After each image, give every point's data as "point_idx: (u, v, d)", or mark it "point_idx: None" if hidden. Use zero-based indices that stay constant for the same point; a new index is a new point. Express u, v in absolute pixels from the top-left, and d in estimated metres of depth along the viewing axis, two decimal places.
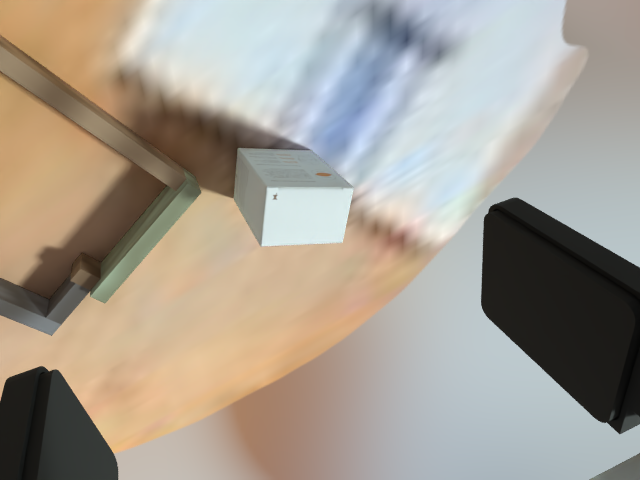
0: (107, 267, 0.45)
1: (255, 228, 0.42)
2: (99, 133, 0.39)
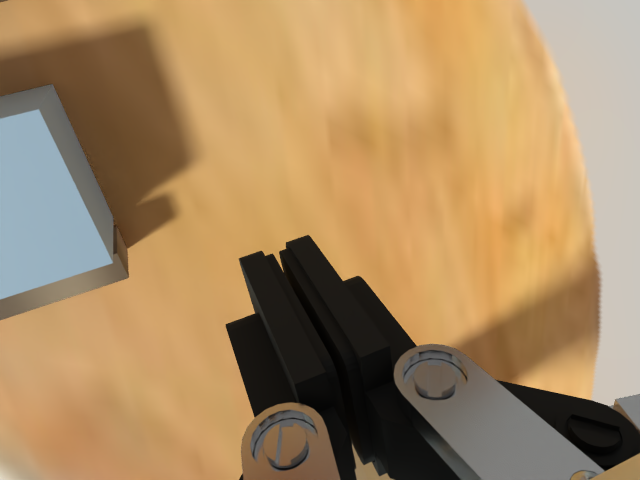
0: None
1: None
2: None
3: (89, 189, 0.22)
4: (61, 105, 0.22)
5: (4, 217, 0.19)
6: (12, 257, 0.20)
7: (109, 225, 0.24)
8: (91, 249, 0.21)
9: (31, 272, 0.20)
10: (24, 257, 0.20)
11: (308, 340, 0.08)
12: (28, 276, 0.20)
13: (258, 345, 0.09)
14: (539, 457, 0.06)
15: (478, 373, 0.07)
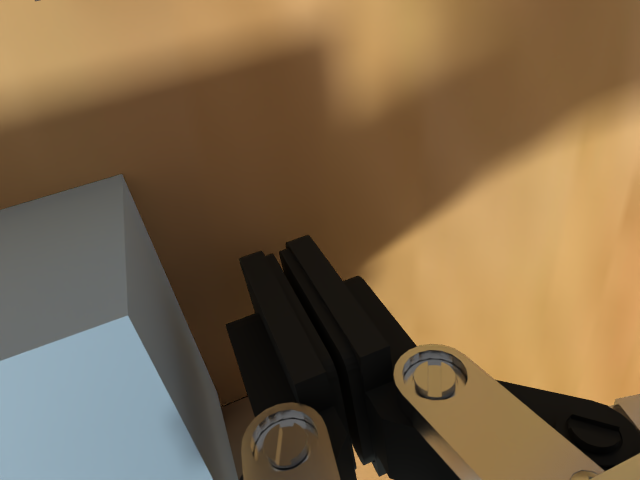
0: None
1: None
2: None
3: (202, 402, 0.10)
4: (139, 219, 0.10)
5: None
6: None
7: (226, 440, 0.12)
8: None
9: None
10: None
11: (308, 340, 0.08)
12: None
13: (259, 345, 0.09)
14: (539, 457, 0.06)
15: (478, 373, 0.07)
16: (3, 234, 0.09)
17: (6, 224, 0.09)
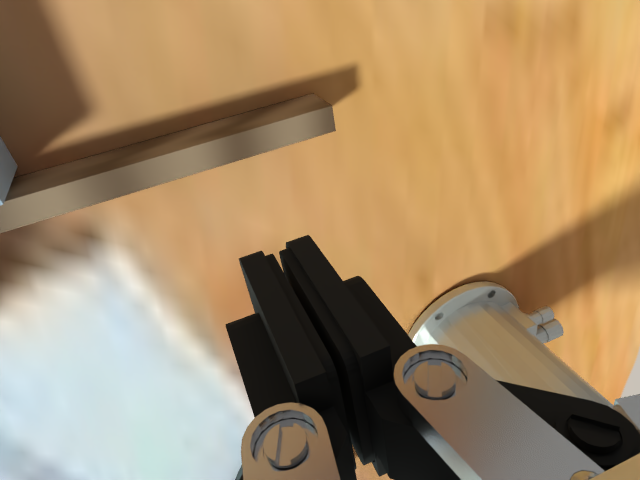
0: None
1: None
2: (34, 200, 0.24)
3: None
4: None
5: None
6: None
7: (7, 171, 0.24)
8: None
9: None
10: None
11: (308, 340, 0.08)
12: None
13: (259, 344, 0.09)
14: (539, 457, 0.06)
15: (478, 373, 0.07)
16: None
17: None
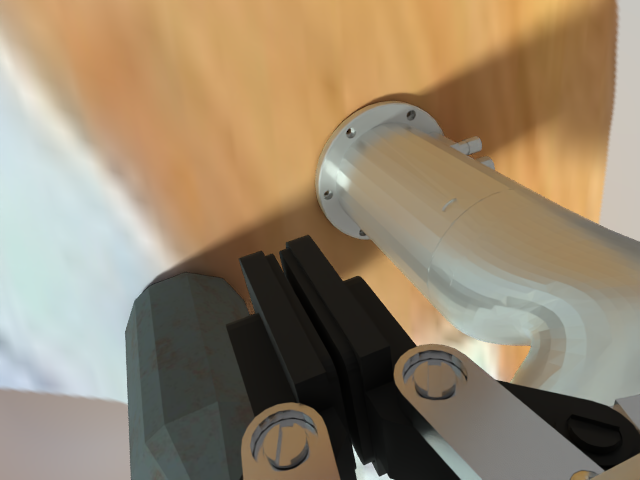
0: None
1: None
2: None
3: None
4: None
5: None
6: None
7: None
8: None
9: None
10: None
11: (308, 340, 0.08)
12: None
13: (259, 344, 0.09)
14: (539, 457, 0.06)
15: (478, 373, 0.07)
16: None
17: None
